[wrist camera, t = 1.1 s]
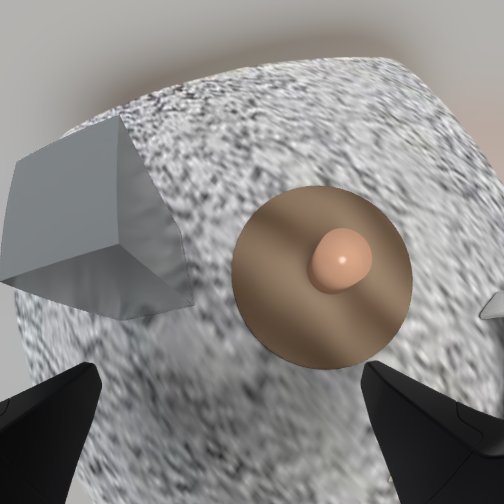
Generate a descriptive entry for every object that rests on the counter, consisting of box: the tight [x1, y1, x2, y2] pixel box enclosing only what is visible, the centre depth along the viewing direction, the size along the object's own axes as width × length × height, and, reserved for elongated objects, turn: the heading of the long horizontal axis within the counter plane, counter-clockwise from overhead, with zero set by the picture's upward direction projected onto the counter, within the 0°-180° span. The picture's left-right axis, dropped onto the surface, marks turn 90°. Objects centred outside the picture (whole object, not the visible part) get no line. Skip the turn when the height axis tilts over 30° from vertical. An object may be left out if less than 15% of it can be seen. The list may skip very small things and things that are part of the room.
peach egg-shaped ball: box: [307, 228, 372, 294], centre depth 20 cm, size 4×4×4 cm
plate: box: [232, 186, 413, 370], centre depth 23 cm, size 16×16×1 cm
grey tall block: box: [0, 115, 194, 321], centre depth 16 cm, size 7×7×14 cm
